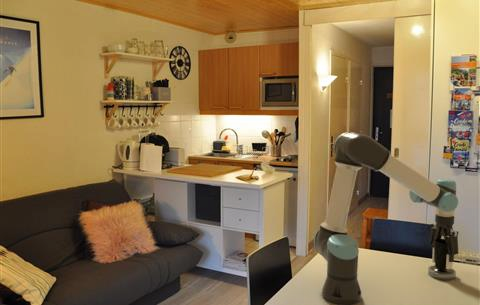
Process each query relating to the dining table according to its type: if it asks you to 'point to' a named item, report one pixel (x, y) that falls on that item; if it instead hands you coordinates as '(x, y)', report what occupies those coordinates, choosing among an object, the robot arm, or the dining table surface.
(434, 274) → the grey metal bowl
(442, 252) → the cup
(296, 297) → the dining table surface
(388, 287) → the dining table surface
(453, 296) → the dining table surface
